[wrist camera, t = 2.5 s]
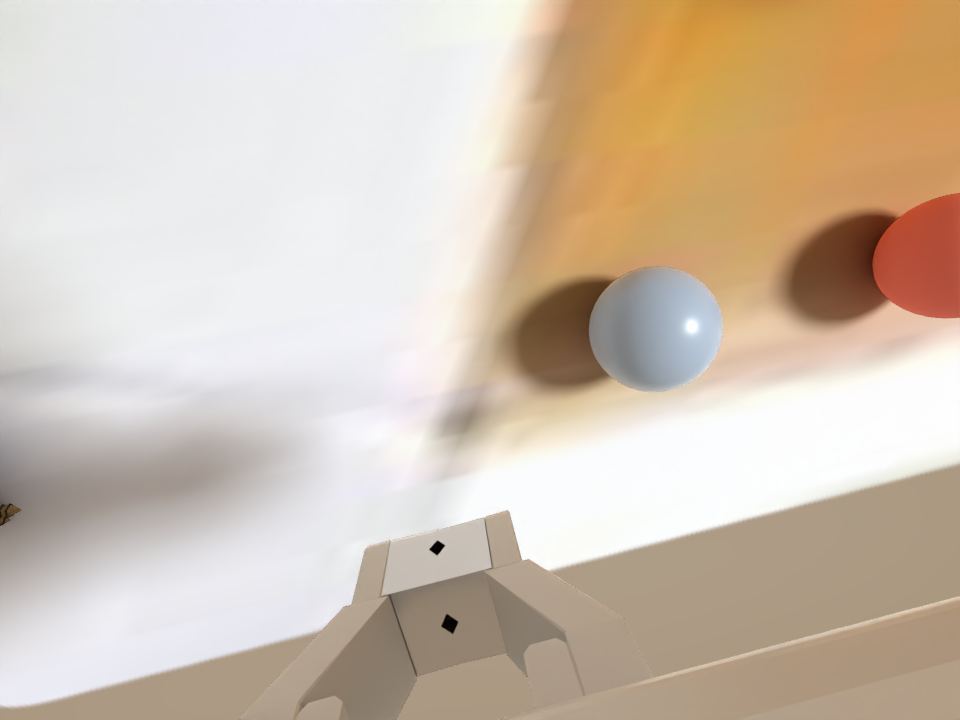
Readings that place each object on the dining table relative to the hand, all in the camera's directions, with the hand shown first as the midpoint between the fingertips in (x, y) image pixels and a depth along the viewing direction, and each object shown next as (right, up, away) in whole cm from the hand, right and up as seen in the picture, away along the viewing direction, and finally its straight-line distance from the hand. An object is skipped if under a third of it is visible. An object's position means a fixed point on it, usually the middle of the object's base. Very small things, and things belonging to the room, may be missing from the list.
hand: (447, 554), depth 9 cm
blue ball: (+8, +5, +11) cm, 15 cm away
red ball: (+22, +9, +11) cm, 26 cm away
